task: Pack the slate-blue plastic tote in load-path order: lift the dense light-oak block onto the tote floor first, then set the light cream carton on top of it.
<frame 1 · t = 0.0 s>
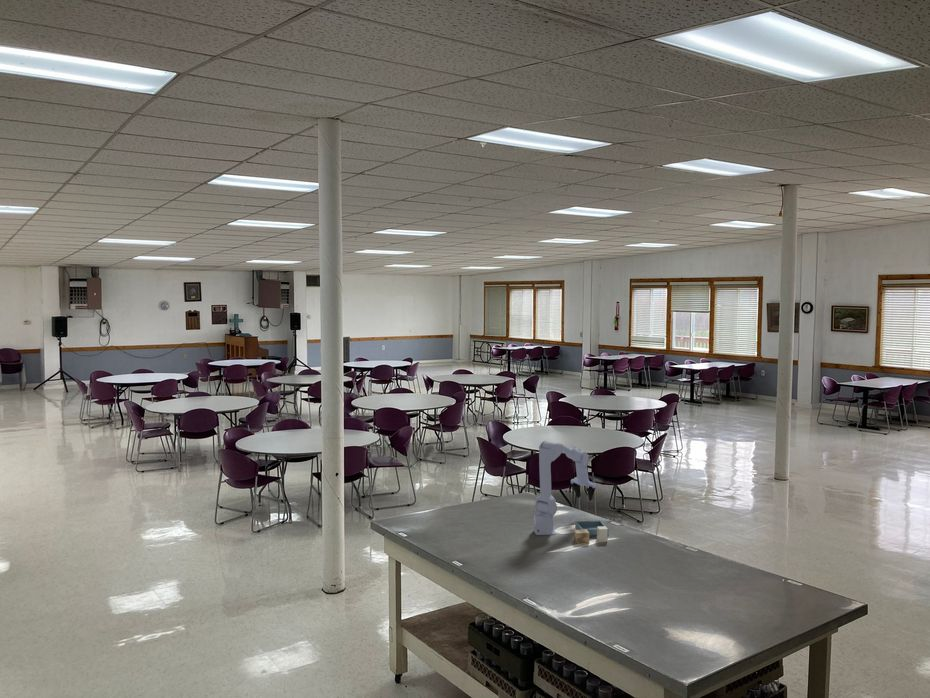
hand: (584, 498, 351), 10 cm above the table, fingers open, 7 cm apart
tote: (591, 532, 329), on the table
cream carton: (602, 540, 318), on the table
oak block: (581, 541, 316), on the table
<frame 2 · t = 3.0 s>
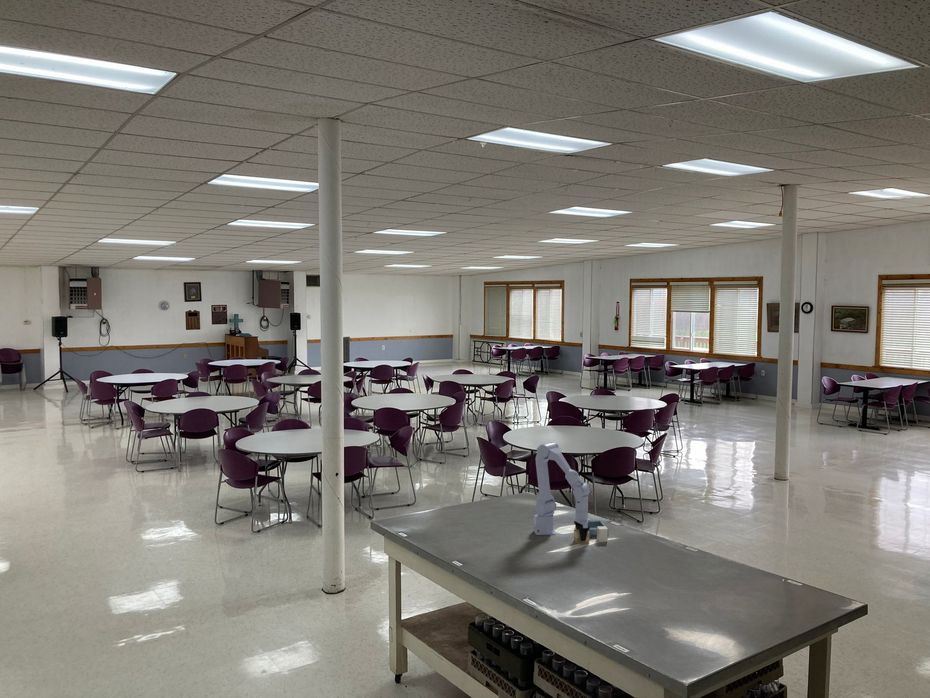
hand: (581, 538, 316), 1 cm above the table, fingers closed on oak block, 5 cm apart
oak block: (581, 541, 316), on the table, touching gripper
everything else where it was.
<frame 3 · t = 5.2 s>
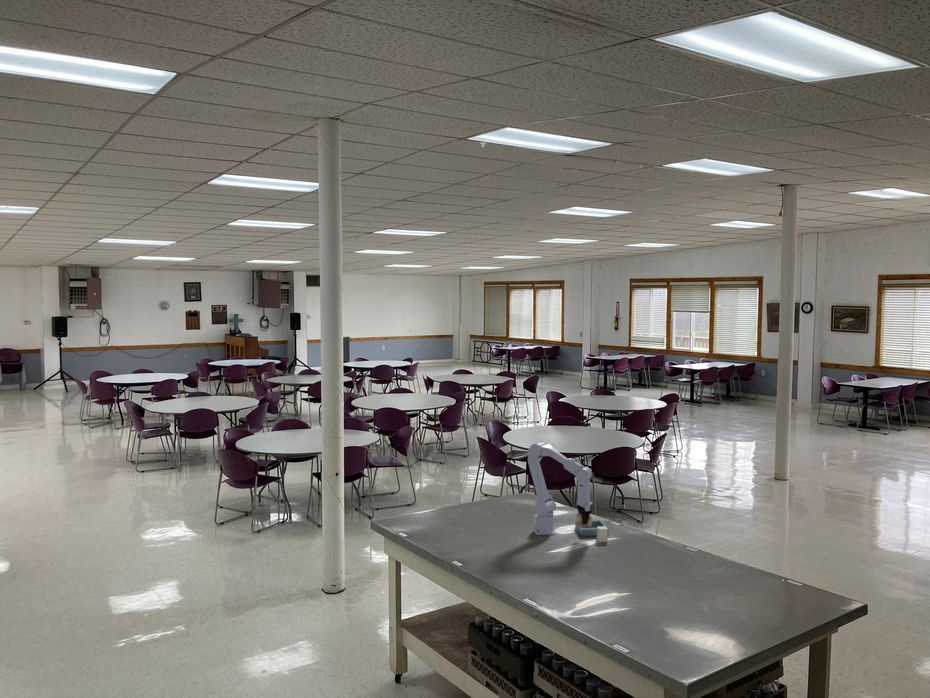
hand: (583, 521, 318), 8 cm above the table, fingers closed on oak block, 5 cm apart
oak block: (583, 525, 319), point 7 cm above the table, touching gripper
everything else where it was.
when the fingers open (4 cm above the table, at t = 7.4 s): oak block drops 1 cm, resting on tote.
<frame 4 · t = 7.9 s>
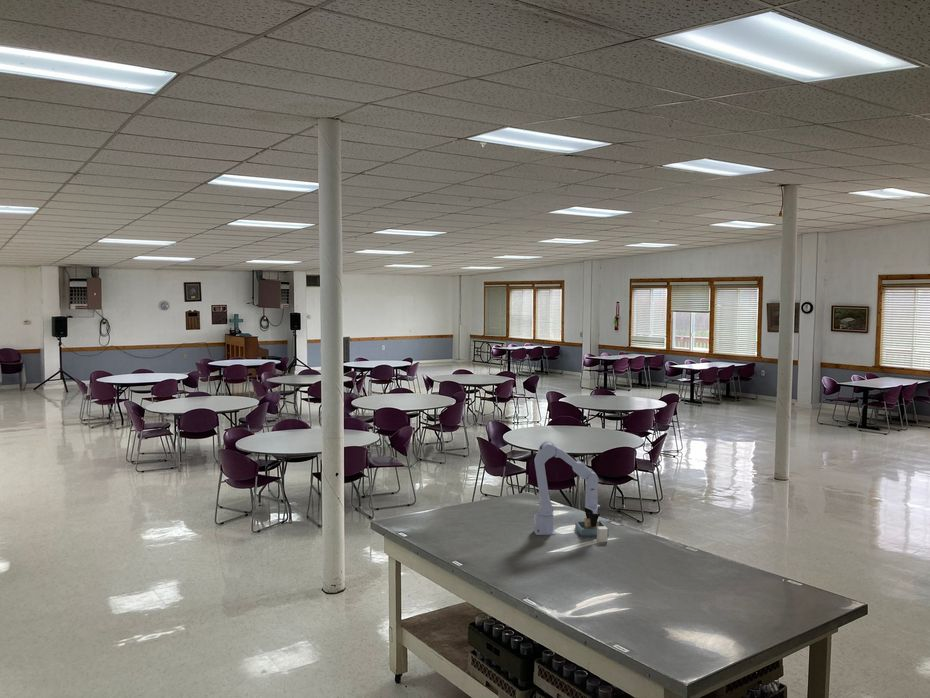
hand: (591, 524, 329), 4 cm above the table, fingers open, 7 cm apart
oak block: (591, 530, 329), point 1 cm above the table, touching tote
everything else where it was.
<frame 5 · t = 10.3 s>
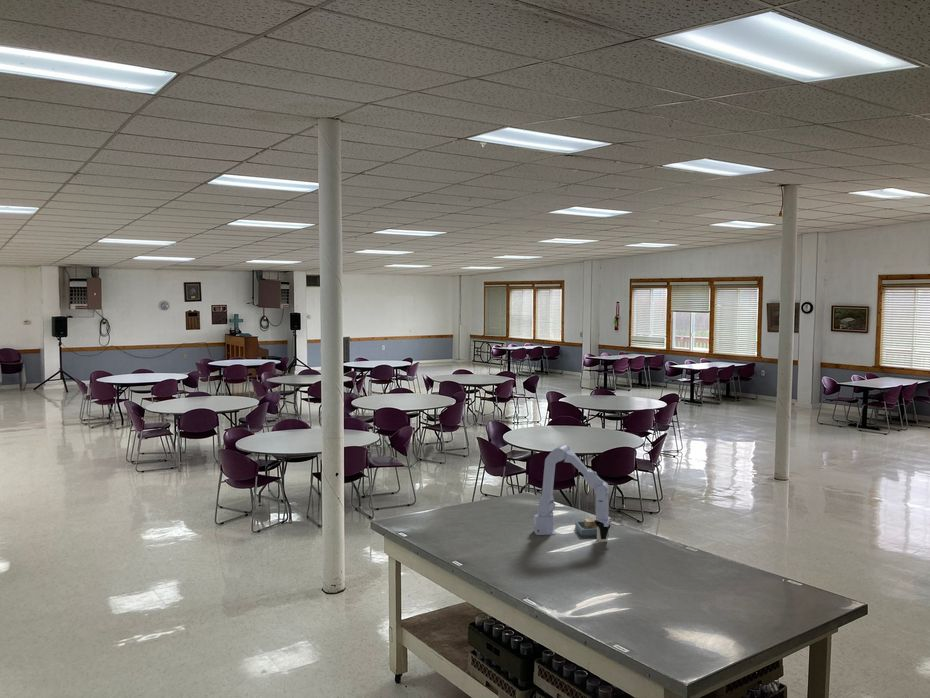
hand: (602, 537, 318), 1 cm above the table, fingers closed on cream carton, 4 cm apart
cream carton: (602, 540, 318), on the table, touching gripper
everything else where it was.
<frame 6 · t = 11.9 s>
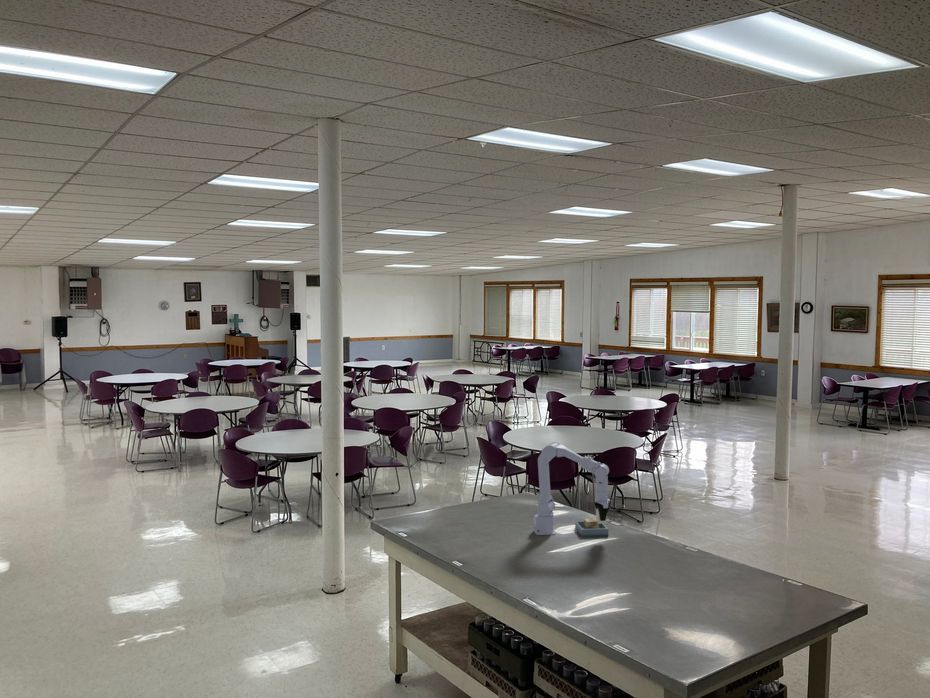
hand: (601, 519, 318), 10 cm above the table, fingers closed on cream carton, 4 cm apart
cream carton: (601, 522, 318), point 8 cm above the table, touching gripper
everything else where it was.
when the fingers open (9 cm above the table, at t = 13.5 s): cream carton drops 1 cm, resting on oak block.
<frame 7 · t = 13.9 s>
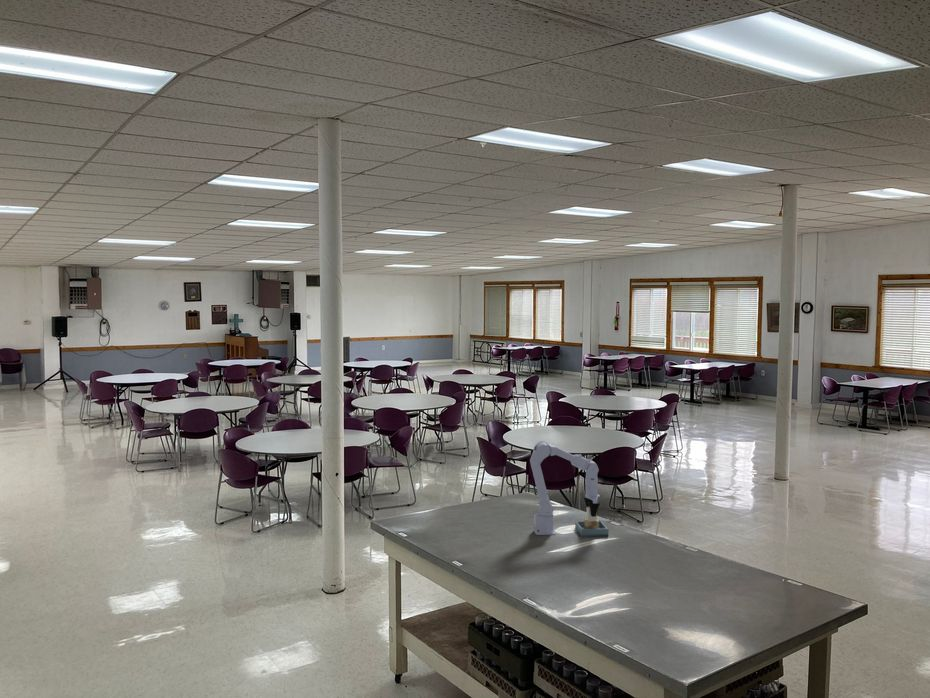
hand: (591, 514, 329), 9 cm above the table, fingers open, 7 cm apart
cream carton: (591, 520, 329), point 6 cm above the table, touching oak block
oak block: (591, 530, 329), point 1 cm above the table, touching cream carton, tote
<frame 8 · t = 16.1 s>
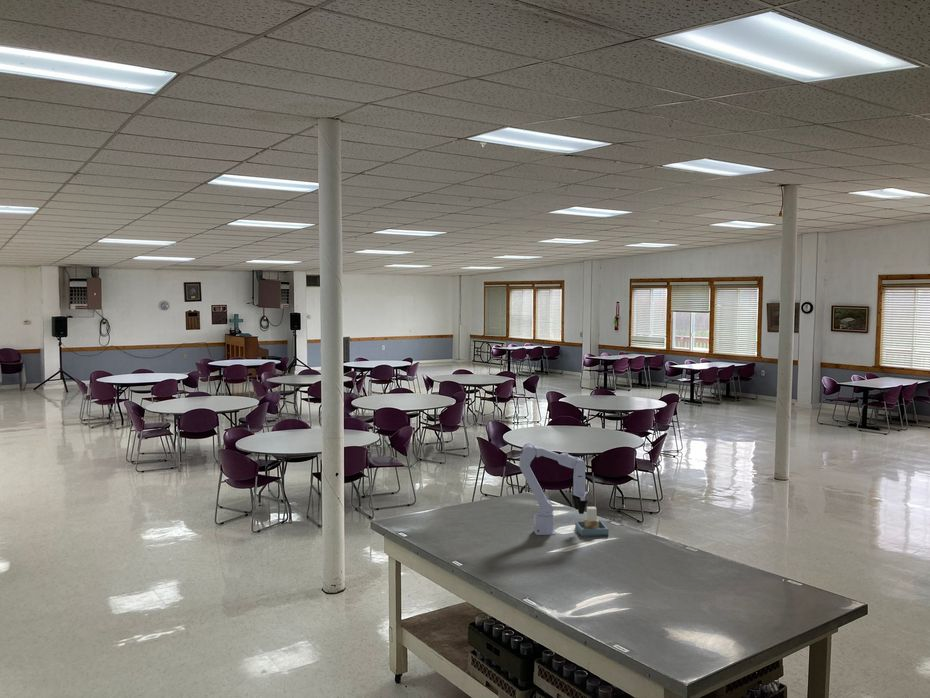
hand: (579, 511, 329), 10 cm above the table, fingers open, 7 cm apart
nothing on the table moved.
at the end: oak block 0.0 cm off-centre on the tote, point 1.0 cm above the tote's base; cream carton 0.1 cm off-centre on the oak block, point 5.0 cm above the oak block's base; cream carton tilted 0° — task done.
